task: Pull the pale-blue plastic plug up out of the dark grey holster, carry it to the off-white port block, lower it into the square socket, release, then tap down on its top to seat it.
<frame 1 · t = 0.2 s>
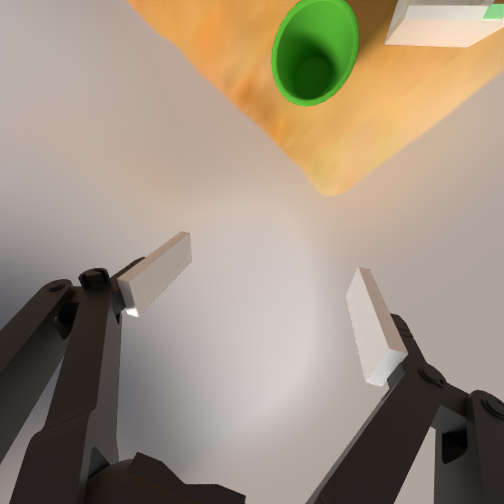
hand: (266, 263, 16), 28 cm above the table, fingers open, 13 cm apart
cup: (311, 79, 31), on the table
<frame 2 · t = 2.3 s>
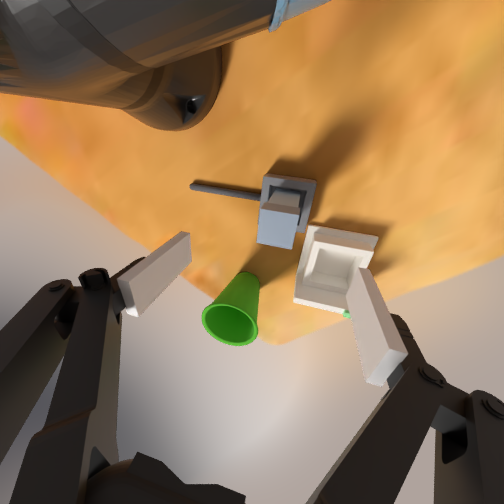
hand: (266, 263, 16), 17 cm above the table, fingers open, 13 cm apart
cup: (247, 281, 40), on the table
port: (332, 257, 33), on the table
holster: (286, 200, 30), on the table
plug: (286, 202, 30), point 1 cm above the table, touching holster
cord: (226, 191, 32), on the table
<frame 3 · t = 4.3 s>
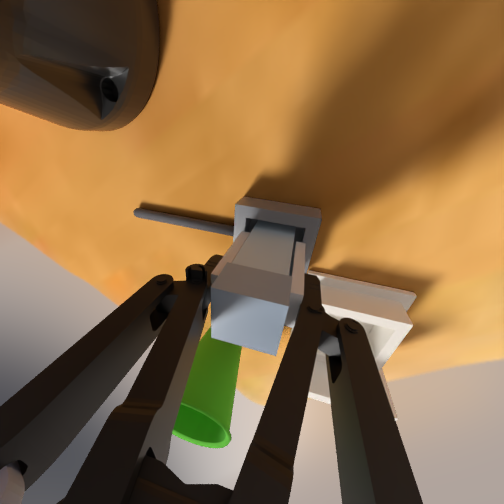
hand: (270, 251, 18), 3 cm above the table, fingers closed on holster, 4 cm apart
cup: (226, 334, 30), on the table
port: (343, 315, 23), on the table
holster: (275, 236, 20), on the table
plug: (274, 239, 20), point 1 cm above the table, touching holster
cord: (187, 220, 22), on the table
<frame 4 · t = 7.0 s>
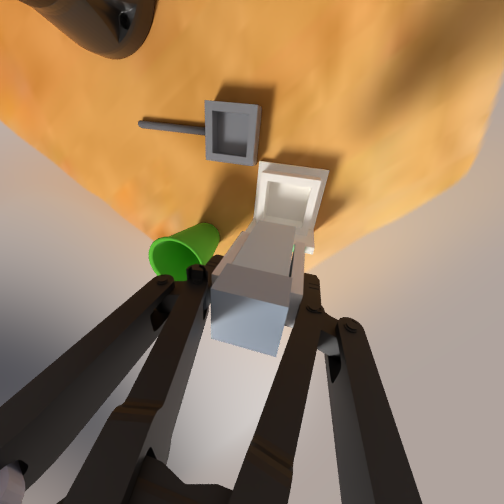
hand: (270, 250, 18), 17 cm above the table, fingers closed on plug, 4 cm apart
cup: (208, 234, 39), on the table
port: (287, 199, 32), on the table
holster: (235, 134, 29), on the table
plug: (274, 240, 20), point 15 cm above the table, touching gripper
cord: (175, 128, 31), on the table
when the fingers open (4 cm above the table, at t = 9.3 s): plug drops 1 cm, resting on port.
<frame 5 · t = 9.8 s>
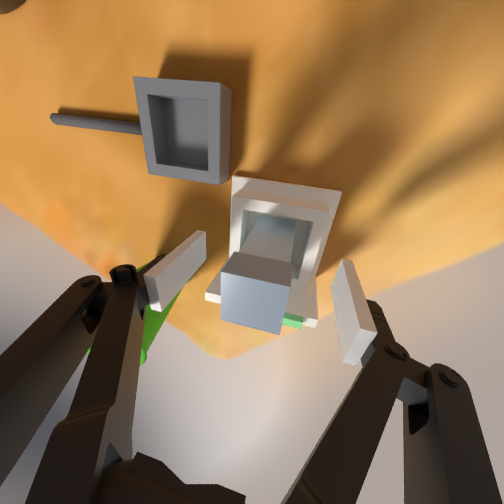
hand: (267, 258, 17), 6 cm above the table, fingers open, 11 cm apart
cup: (170, 271, 28), on the table
port: (277, 231, 21), on the table
holster: (194, 135, 19), on the table
plug: (276, 233, 21), point 1 cm above the table, touching port
cord: (106, 124, 20), on the table
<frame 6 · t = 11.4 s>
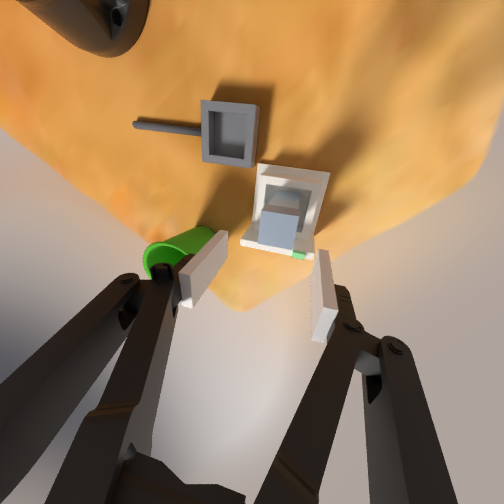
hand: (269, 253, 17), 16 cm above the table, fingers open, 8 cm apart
cup: (205, 238, 38), on the table
port: (286, 202, 31), on the table
holster: (233, 135, 28), on the table
plug: (286, 203, 30), point 1 cm above the table, touching port
cord: (171, 128, 30), on the table
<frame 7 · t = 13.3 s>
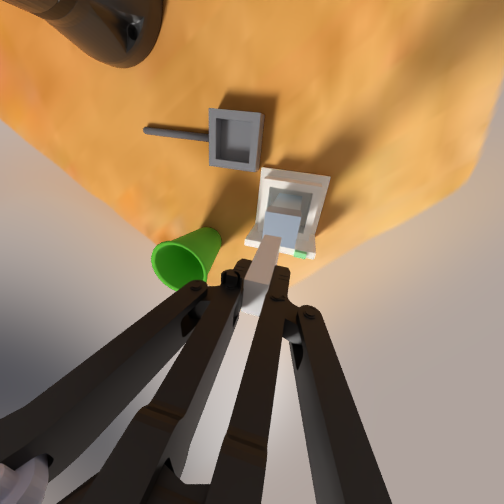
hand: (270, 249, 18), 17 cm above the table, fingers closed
cup: (210, 238, 39), on the table
port: (289, 204, 32), on the table
holster: (238, 141, 30), on the table
plug: (288, 205, 32), point 1 cm above the table, touching port
cord: (180, 134, 31), on the table
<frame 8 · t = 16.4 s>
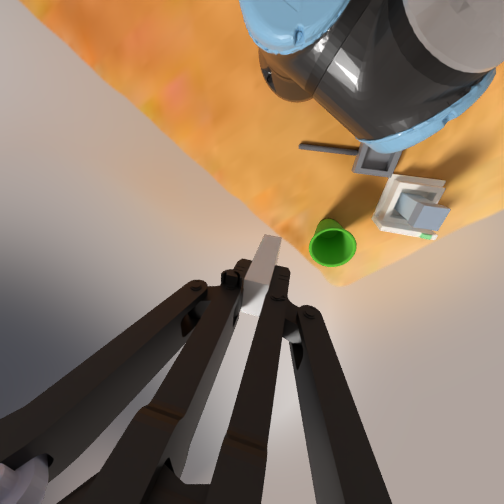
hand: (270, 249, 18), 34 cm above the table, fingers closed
cup: (327, 227, 51), on the table
port: (405, 201, 44), on the table
holster: (375, 155, 41), on the table
plug: (406, 201, 43), point 1 cm above the table, touching port
cord: (327, 149, 43), on the table
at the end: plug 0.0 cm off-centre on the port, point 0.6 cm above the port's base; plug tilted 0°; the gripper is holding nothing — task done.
